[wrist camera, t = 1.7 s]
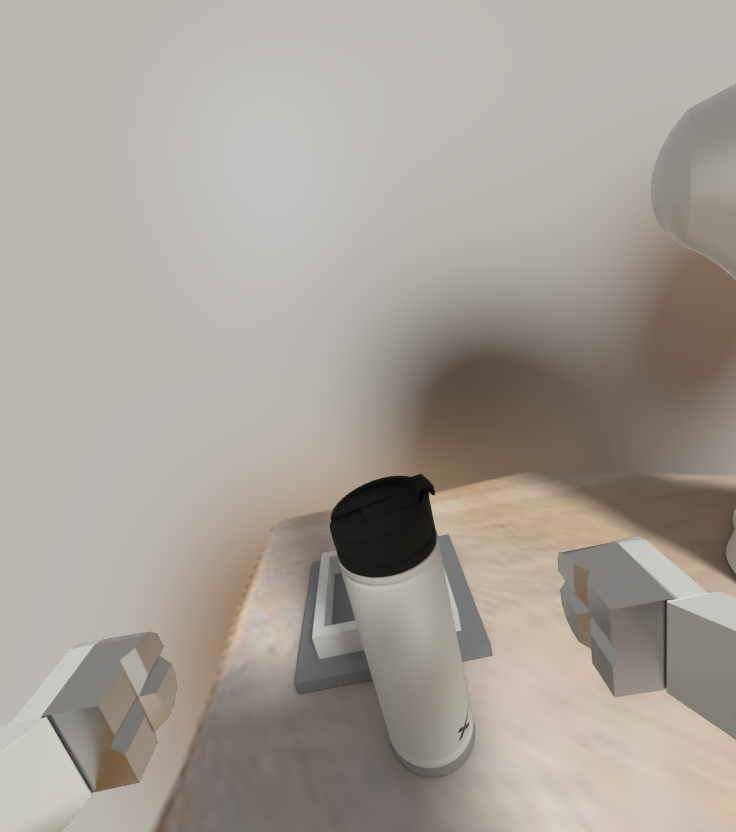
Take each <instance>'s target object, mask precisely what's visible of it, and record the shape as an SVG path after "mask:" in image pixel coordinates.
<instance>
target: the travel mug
mask: <svg viewBox="0 0 736 832" xmlns="http://www.w3.org/2000/svg"><path fill="white" fill-rule="evenodd" d="M429 492H430V493H431V494H432V495H435V491H434V487H433V485H432V484H431V483H430V481H429V480H428V479H427V478H425V477H424V476H423V475H422V474H419V475H416V476H413V477H408V476H391V477H385V478H381V479H377V480H374V481H372V482H369V483H366V484H364V485H362V486H361V487H358V488H356V489H355V490H353V491H352V492H350V493H349V494H347V495H346V496H345V497H344V498H343V499H342V500H341V501H340V502H339V503H338V504H337V505H336V506H335V508H334V509H333V512H332V515H331V520H332V521H331V523H330V530H331V534H332V537H333V541H334V544H335V547H336V551H337V556H338V562H339V565H340V567H341V572H342V575H343V579H344V582H345V586H346V589H347V593H348V596H349V600H350V603H351V607H352V610H353V613H354V617H355V620H356V624H357V627H358V631H359V634H360V638H361V641H362V644H363V648H364V651H365V655H366V658H367V662H368V665H369V669H370V672H371V676H372V679H373V682H374V686H375V689H376V693H377V696H378V700H379V703H380V707H381V710H382V713H383V717H384V720H385V724H386V727H387V731H388V734H389V738H390V741H391V745H392V747H393V750H394V752H395V755H396V756H397V758H398V759H399V761H400V762H401V763H402V764H403V765H404V766H405V767H406V768H407V769H409V770H410V771H412V772H413V773H416V774H418V775H421V776H425V777H441V776H444V775H447V774H450V773H452V772H453V771H455V770H457V769H458V768H459V767H460V766H461V765H462V764H463V763H464V762H465V761H466V759H467V758H468V756H469V755H470V753H471V750H472V748H473V745H474V739H475V726H474V721H473V716H472V710H471V705H470V700H469V695H468V690H467V685H466V680H465V674H464V669H463V664H462V659H461V654H460V649H459V644H458V639H457V633H456V628H455V623H454V618H453V613H452V608H451V603H450V597H449V592H448V587H447V582H446V577H445V572H444V567H443V562H442V556H441V551H440V546H439V541H438V536H437V531H436V530H435V525H434V520H433V515H432V510H431V505H430V500H429Z"/></svg>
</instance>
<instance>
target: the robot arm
mask: <svg viewBox="0 0 736 832" xmlns="http://www.w3.org/2000/svg"><path fill="white" fill-rule="evenodd" d="M651 201H652V206H653V210H654V213H655V216H656V218H657V220H658V222H659V224H660V225H661V227H662V228H663V230H664V231H665V232H666V233H667V234H668V235H669V236H670V237H671V238H672V239H673V240H675V241H676V242H677V243H679V244H680V245H682V246H684V247H686V248H688V249H690V250H693V251H695V252H697V253H699V254H701V255H703V256H705V257H707V258H709V259H710V260H712V261H713V262H715V263H716V264H718V265H719V266H720V267H722V268H723V269H724V270H725V271H726V272H728V273H729V274H730V275H731V276H732V277H733V278H734V279H735V280H736V84H735V85H733V86H731V87H729V88H727V89H725V90H723V91H722V92H720V93H718V94H716V95H714V96H712V97H710V98H708V99H707V100H705V101H703V102H701V103H699V104H697V105H695V106H694V107H692V108H690V109H689V110H687V112H686V113H685V114H684V115H683V116H682V117H681V119H680V120H679V121H678V122H677V124H676V125H675V126H674V128H673V129H672V131H671V132H670V134H669V135H668V137H667V139H666V140H665V142H664V144H663V146H662V148H661V151H660V153H659V155H658V158H657V160H656V163H655V167H654V170H653V175H652V181H651ZM732 521H733V525H734V528H735V529H734V531H733V533H732V536H731V538H730V540H729V542H728V544H727V547H726V557H727V560H728V563H729V565H730V566H731V568H732V570H733V571H734V572H735V574H736V509H735V511H734V514H733V518H732ZM558 570H559V572H560V573H561V575H562V576H563V578H564V579H565V583H564V585H563V586H562V588H561V589H560V592H561V600H562V606H563V609H564V612H565V616H566V619H567V621H568V623H569V625H570V627H571V629H572V631H573V633H574V635H575V636H576V638H577V639H578V641H579V642H580V643H582V644H584V645H585V646H587V647H589V648H590V649H591V652H592V663H593V665H594V666H595V668H596V669H597V671H598V672H599V674H600V675H601V677H602V679H603V680H604V682H605V683H606V685H607V686H608V688H609V689H610V691H611V693H612V694H613V696H614V697H619V696H626V695H633V694H639V693H646V692H653V691H660V690H667V693H668V694H670V695H671V696H673V697H674V698H676V699H677V700H679V701H680V702H682V703H683V704H684V705H686V706H687V707H689V708H690V709H692V710H693V711H695V712H696V713H698V714H699V715H701V716H702V717H704V718H705V719H706V720H708V721H709V722H711V723H712V724H714V725H715V726H717V727H718V728H720V729H721V730H723V731H724V732H725V733H727V734H728V735H730V736H731V737H733V738H734V739H736V598H734V597H732V596H729V595H726V594H723V593H720V592H712V593H708V592H707V591H706V590H704V589H703V588H702V587H701V586H700V585H699V584H697V583H696V582H695V581H694V580H693V579H691V578H690V577H689V576H688V575H687V574H685V573H684V572H683V571H682V570H681V569H680V568H678V567H677V566H676V565H675V564H674V563H672V562H671V561H670V560H669V559H668V558H667V557H665V556H664V555H663V554H662V553H661V552H659V551H658V550H657V549H656V548H655V547H653V546H652V545H651V544H650V543H649V542H648V541H646V540H645V539H644V538H641V537H638V536H635V537H631V538H626V539H622V540H617V541H612V542H611V543H606V544H601V545H596V546H591V547H586V548H581V549H576V550H571V551H566V552H561V553H559V556H558ZM162 649H163V644H162V642H161V640H160V638H159V636H158V634H156V633H152V632H146V633H139V634H133V635H127V636H121V637H115V638H109V639H104V640H101V641H94V642H88V643H83V644H79V645H77V646H75V647H73V648H72V649H70V650H69V652H68V653H67V654H66V655H65V656H64V658H63V659H62V660H61V661H60V663H59V664H58V665H57V666H56V667H55V669H54V670H53V671H52V672H51V674H50V675H49V676H48V677H47V679H46V680H45V681H44V682H43V683H42V685H41V686H40V687H39V689H38V690H37V691H36V692H35V693H34V695H33V696H32V697H31V698H30V699H29V701H28V702H27V703H26V704H25V706H24V707H23V708H22V709H21V711H20V712H19V713H18V714H17V715H16V717H15V718H14V719H13V720H12V722H11V723H10V724H7V725H2V726H0V832H61V831H62V830H63V829H64V828H65V827H66V825H68V823H69V822H70V821H71V820H72V819H73V817H74V816H75V815H76V814H77V813H78V812H79V811H80V809H81V808H82V807H83V806H84V805H85V804H86V802H87V801H88V800H89V799H90V798H91V797H92V792H97V791H102V790H106V789H111V788H116V787H121V786H125V785H130V784H134V783H139V782H140V780H141V778H142V775H143V773H144V771H145V769H146V766H147V764H148V762H149V760H150V757H151V755H152V753H153V751H154V749H155V747H156V744H157V739H156V734H155V731H156V730H157V729H158V728H159V727H160V726H161V725H162V724H163V723H164V722H165V721H166V720H167V719H168V717H169V715H170V713H171V710H172V708H173V705H174V703H175V697H176V690H177V681H176V674H175V671H174V669H173V666H172V664H171V663H170V662H168V661H167V660H165V659H164V658H162V657H161V656H160V655H161V652H162Z"/></svg>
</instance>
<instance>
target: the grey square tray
mask: <svg viewBox="0 0 736 832" xmlns="http://www.w3.org/2000/svg"><path fill="white" fill-rule="evenodd" d="M438 541H439V546H440V551H441V556H442V562H443V567H444V572H445V577H446V582H447V587H448V592H449V597H450V603H451V608H452V613H453V618H454V623H455V628H456V633H457V639H458V644H459V649H460V654H461V659H462V661H467V660H472V659H477V658H482V657H487V656H492V649H491V644H490V641H489V639H488V636H487V634H486V631H485V628H484V626H483V623H482V620H481V618H480V615H479V613H478V610H477V607H476V605H475V602H474V600H473V597H472V594H471V592H470V589H469V586H468V584H467V581H466V579H465V576H464V573H463V571H462V568H461V565H460V563H459V560H458V558H457V555H456V552H455V550H454V547H453V545H452V542H451V539H450V537H449V534H448V535H443V536H438ZM367 680H372V676H371V672H370V669H369V665H368V662H367V658H366V655H365V651H364V648H363V644H362V641H361V638H360V634H359V631H358V627H357V624H356V620H355V617H354V613H353V610H352V607H351V603H350V600H349V596H348V593H347V589H346V586H345V582H344V579H343V575H342V572H341V567H340V565H339V562H338V556H337V551H336V550H333V551H329V552H324V553H322V554H321V561H319V562H314V563H312V566H311V573H310V580H309V587H308V594H307V601H306V608H305V615H304V622H303V629H302V636H301V643H300V650H299V657H298V664H297V671H296V678H295V687H296V689H297V692H298V694H302V693H307V692H312V691H317V690H322V689H327V688H332V687H337V686H342V685H347V684H352V683H357V682H362V681H367Z"/></svg>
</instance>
